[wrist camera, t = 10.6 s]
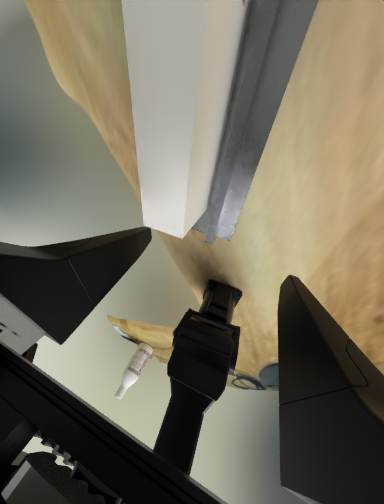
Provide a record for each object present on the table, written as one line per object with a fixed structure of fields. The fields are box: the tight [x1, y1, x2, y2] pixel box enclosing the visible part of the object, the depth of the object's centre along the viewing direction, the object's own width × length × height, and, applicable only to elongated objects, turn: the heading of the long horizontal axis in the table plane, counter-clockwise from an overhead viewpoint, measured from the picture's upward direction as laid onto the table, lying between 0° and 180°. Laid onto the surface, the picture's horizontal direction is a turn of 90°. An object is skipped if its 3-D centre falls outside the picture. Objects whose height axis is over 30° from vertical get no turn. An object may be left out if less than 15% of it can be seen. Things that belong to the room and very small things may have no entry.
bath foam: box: [115, 342, 153, 399], centre depth 67 cm, size 7×7×20 cm
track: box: [191, 0, 318, 244], centre depth 14 cm, size 24×12×3 cm, turn 172°
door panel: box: [121, 0, 252, 239], centre depth 11 cm, size 16×4×8 cm, turn 172°
